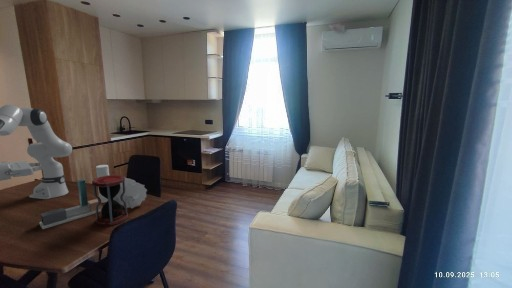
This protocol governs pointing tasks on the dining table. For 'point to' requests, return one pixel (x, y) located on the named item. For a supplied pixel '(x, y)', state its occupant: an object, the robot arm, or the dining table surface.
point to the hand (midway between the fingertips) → (41, 165)
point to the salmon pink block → (94, 205)
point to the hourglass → (110, 200)
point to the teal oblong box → (84, 203)
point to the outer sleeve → (53, 216)
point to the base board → (69, 219)
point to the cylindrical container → (101, 171)
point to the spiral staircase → (131, 193)
